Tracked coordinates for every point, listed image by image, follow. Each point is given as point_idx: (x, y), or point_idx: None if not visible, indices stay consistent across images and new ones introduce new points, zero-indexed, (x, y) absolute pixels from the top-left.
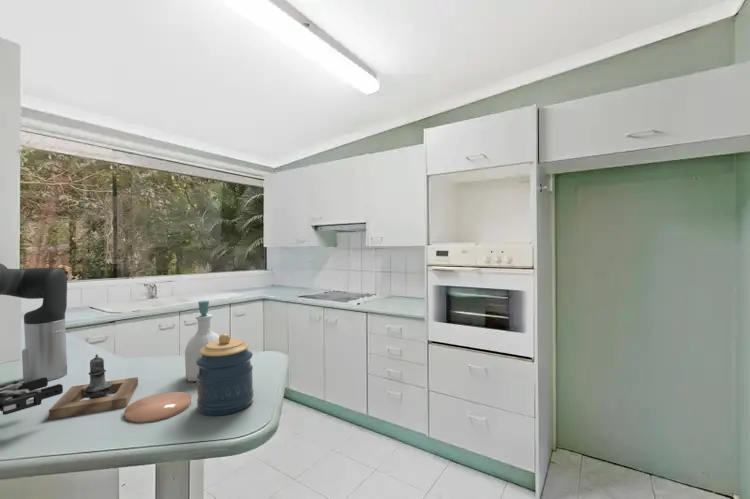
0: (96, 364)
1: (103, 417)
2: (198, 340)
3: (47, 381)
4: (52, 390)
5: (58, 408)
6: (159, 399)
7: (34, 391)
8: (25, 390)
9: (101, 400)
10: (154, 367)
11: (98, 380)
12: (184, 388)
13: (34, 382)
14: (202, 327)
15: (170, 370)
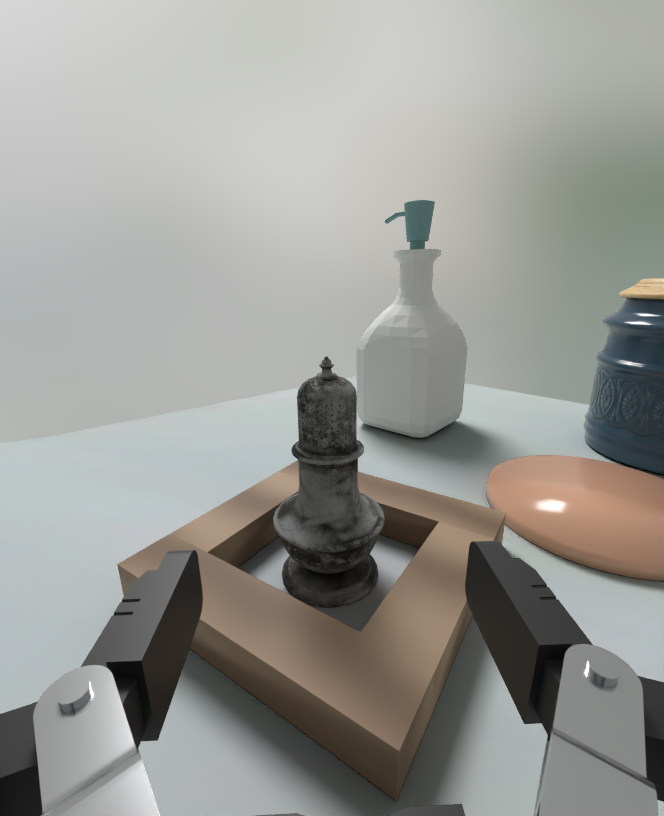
0: (353, 405)
1: (578, 617)
2: (440, 318)
3: (199, 573)
4: (556, 604)
5: (417, 700)
6: (548, 487)
7: (625, 701)
8: (610, 765)
9: (466, 556)
10: (206, 438)
11: (357, 482)
12: (459, 453)
13: (168, 624)
14: (428, 283)
15: (278, 433)
